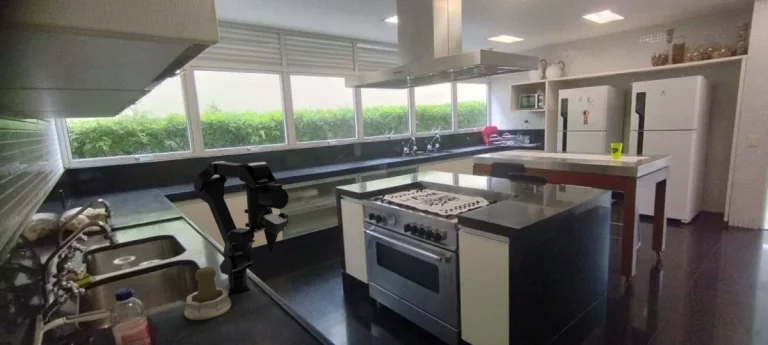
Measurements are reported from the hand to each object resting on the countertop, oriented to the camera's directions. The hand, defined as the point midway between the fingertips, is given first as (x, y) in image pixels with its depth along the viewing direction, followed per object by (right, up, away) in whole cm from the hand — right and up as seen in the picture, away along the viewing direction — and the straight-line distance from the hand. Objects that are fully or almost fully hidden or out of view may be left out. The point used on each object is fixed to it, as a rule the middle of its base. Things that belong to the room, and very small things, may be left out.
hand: (260, 256), depth 108 cm
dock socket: (-13, -14, -4) cm, 20 cm away
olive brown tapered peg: (-14, -13, -4) cm, 19 cm away
